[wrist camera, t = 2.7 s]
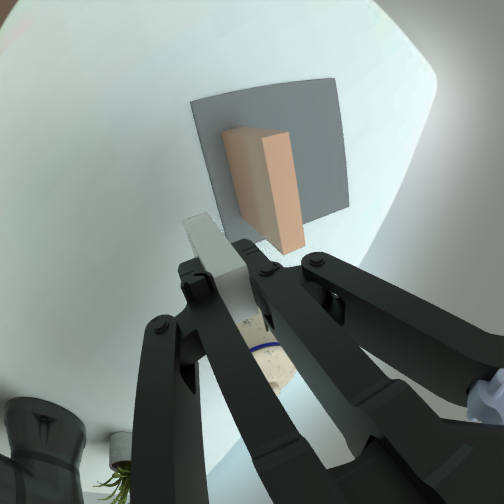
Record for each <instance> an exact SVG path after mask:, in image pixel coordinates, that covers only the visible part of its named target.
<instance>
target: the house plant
mask: <svg viewBox="0 0 504 504" xmlns="http://www.w3.org/2000/svg"><path fill="white" fill-rule="evenodd" d="M131 447H132V433H128V432H117V433H114V434H112V435H111V436H110V457H109V467H110V469H111V470H113V471H115V473H114V474H113V475H112V477H111V478H110V479H109V480H108V481H107V482H105V483H104V484H102V485H100V486H93V487H101V486H107V487H113V486H116V485H118V486H117V488H118V487H119V485H120V483H121V481H122V483H121V486H120V487H119V490H121V491H120V493H119V494H118V496H117V498H116V499H114V501H113V502H112V503H111V504H115V503H116V502H117V501H119V503H118V504H125V502H126V500H127V494H128V490H129V492H130V470H131ZM118 473H120V475H119V474H118ZM119 477H120V478H119ZM113 478H119V479H118V480H117V481H116V482H115V483H113V484H108V485H106V484H107V483H108V482H110V481H111V480H112V479H113ZM97 482H98V481H97ZM98 483H99V482H98ZM100 484H101V483H100ZM117 488H116V489H115V491H114V492H113V493H112V495H110V496H109V497H107V498H105V499H99V500H107V499H109V498H111V497H112V496H113V495H114V493H115V492H116V490H117ZM120 496H121V498H120V500H118V499H119V497H120ZM128 504H130V503H128Z"/></svg>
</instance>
